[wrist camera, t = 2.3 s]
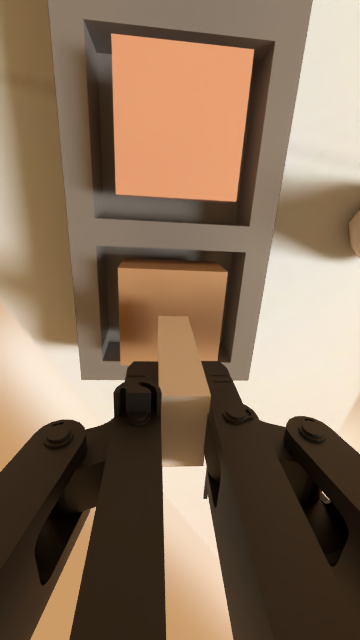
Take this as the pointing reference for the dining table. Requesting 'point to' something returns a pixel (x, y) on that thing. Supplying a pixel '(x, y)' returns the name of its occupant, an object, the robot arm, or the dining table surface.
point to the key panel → (165, 214)
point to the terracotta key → (179, 118)
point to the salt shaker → (355, 233)
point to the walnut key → (169, 304)
